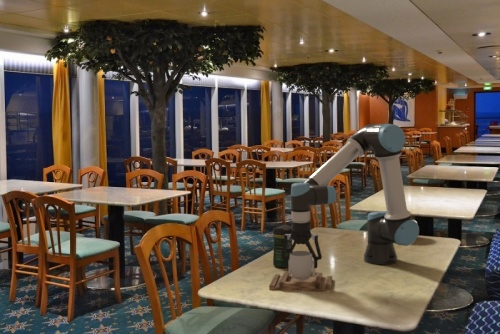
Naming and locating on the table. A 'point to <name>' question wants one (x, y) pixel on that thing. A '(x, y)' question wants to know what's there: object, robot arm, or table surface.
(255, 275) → the table surface
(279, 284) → the rack
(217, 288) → the table surface
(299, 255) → the mug
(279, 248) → the coffee jar
